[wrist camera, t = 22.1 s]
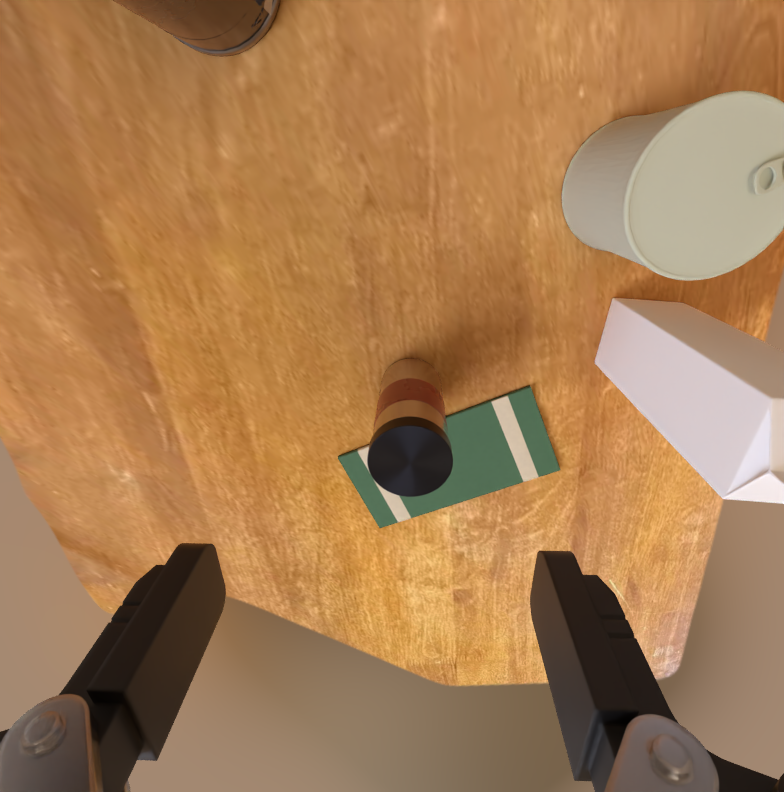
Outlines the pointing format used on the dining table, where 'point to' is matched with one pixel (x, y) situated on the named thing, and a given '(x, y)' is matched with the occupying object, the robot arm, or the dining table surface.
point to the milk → (702, 392)
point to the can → (683, 185)
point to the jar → (410, 431)
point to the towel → (469, 458)
